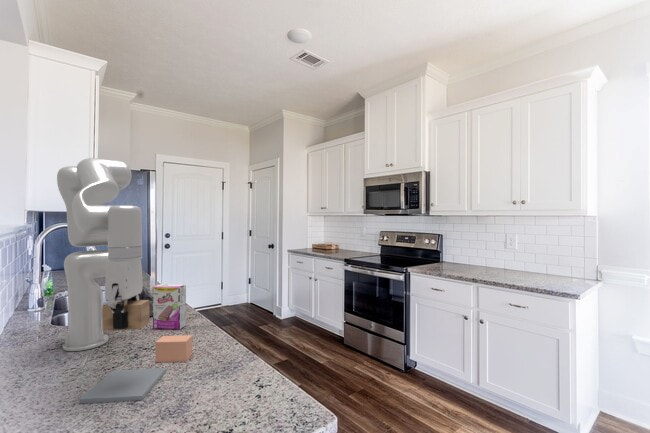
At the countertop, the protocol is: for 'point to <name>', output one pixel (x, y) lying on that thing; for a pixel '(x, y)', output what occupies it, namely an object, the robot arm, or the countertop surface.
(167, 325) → the candy bar box
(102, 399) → the baseplate
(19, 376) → the countertop surface
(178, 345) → the terracotta brick
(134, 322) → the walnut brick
